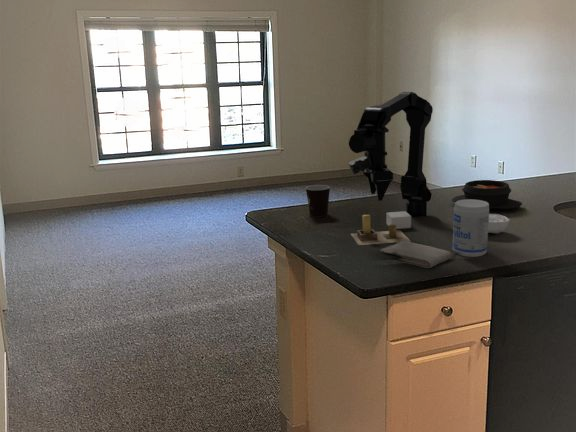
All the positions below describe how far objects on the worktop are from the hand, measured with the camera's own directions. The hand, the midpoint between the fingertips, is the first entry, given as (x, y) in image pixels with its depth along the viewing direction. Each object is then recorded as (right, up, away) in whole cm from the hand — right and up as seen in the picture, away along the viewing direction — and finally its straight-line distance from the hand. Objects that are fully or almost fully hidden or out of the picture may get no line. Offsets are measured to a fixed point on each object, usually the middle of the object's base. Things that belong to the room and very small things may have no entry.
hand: (376, 197), depth 201 cm
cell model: (+35, -11, -1) cm, 37 cm away
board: (0, -14, -5) cm, 14 cm away
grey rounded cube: (+8, -10, +7) cm, 15 cm away
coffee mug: (-17, -5, +31) cm, 35 cm away
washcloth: (+8, -18, -20) cm, 28 cm away
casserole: (+44, -3, +30) cm, 53 cm away
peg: (-4, -13, -5) cm, 14 cm away
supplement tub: (+24, -17, -19) cm, 35 cm away
